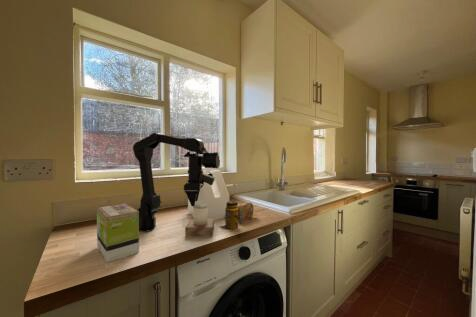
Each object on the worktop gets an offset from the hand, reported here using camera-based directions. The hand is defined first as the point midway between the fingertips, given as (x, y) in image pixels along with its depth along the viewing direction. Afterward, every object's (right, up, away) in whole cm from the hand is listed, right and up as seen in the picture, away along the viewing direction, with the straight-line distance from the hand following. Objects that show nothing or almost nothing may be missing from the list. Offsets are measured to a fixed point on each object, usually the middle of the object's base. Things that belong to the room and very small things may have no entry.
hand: (194, 203), depth 89 cm
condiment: (+15, -13, +7) cm, 21 cm away
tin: (+22, -13, +19) cm, 32 cm away
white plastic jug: (+2, -13, +28) cm, 31 cm away
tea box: (-24, -13, -17) cm, 32 cm away
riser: (+2, -13, +1) cm, 13 cm away
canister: (+2, -9, +1) cm, 9 cm away
